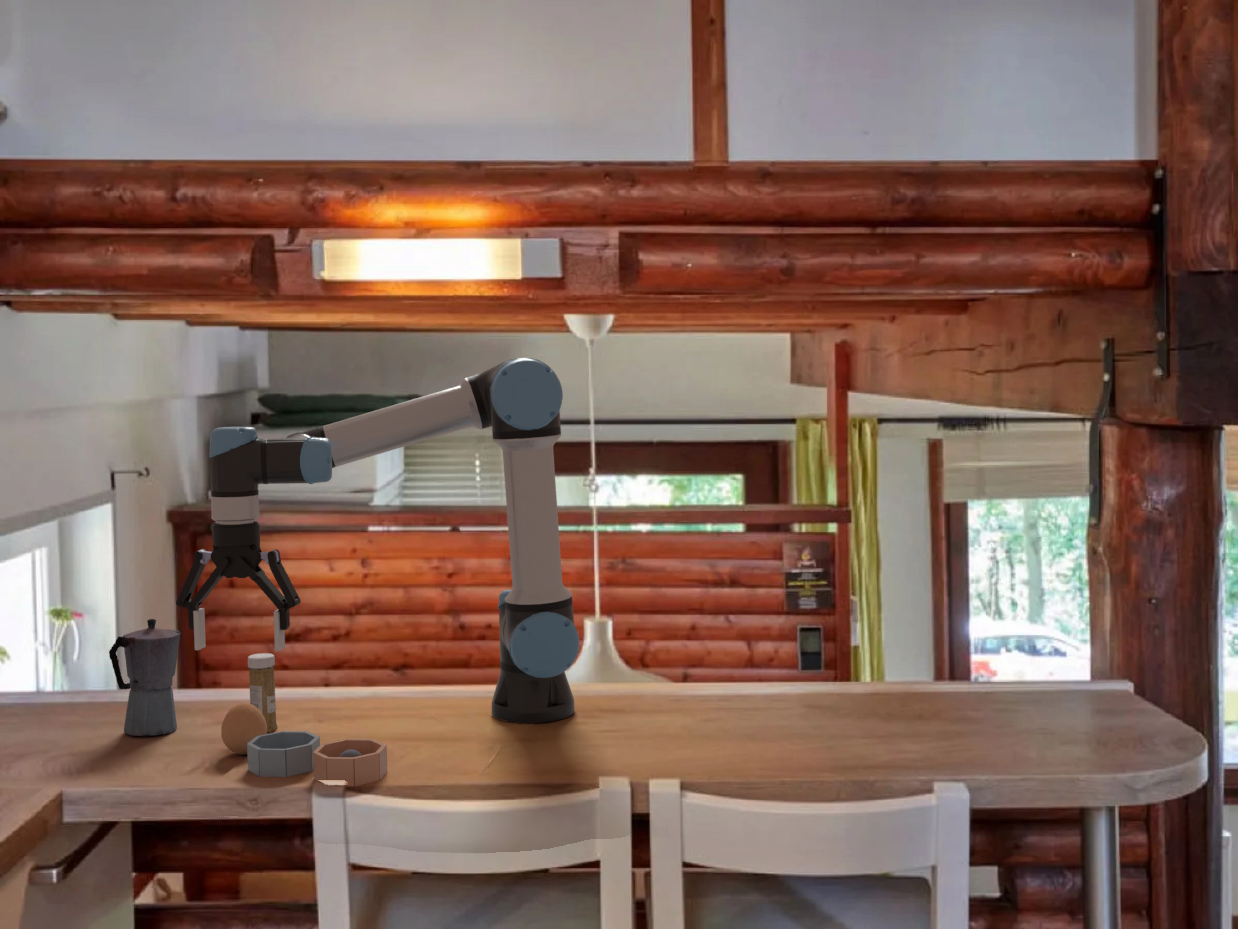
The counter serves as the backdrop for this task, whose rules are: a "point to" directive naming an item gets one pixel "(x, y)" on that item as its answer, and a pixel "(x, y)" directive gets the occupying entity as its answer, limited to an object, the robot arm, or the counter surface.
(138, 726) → the moka pot
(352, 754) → the rubber ball
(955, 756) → the counter surface
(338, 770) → the brown octagonal bowl
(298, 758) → the grey octagonal bowl
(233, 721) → the egg
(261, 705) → the sprinkles bottle
